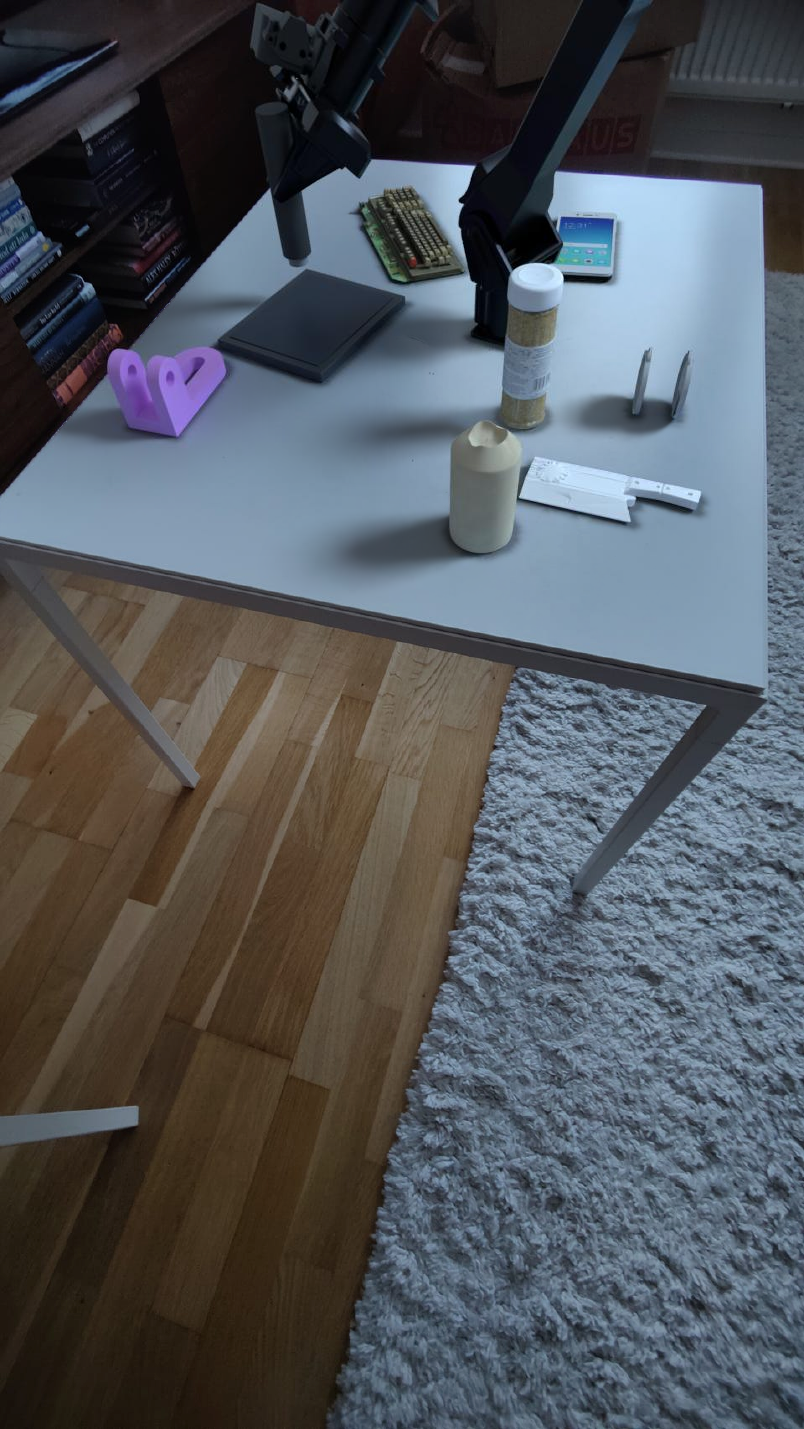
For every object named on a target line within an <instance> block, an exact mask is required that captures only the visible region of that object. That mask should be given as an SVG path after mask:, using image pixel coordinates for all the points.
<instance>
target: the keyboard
mask: <svg viewBox="0 0 804 1429" xmlns="http://www.w3.org/2000/svg"><path fill="white" fill-rule="evenodd" d="M358 204H359V208H358V210H359V212H360V214H362V216H363V219H365V221H364V222H363V223H362V226H363V227H364V230H365V231H366V233H367V234H368V237H369V239H370V241H371V244H372V245H373V246H374V249H375V250H376V252H377V255H378V256H379V258H380V261H381V263H382V264H383V265H384V268H385V270H386V272H387V274H388V275H389V277H390V278H391V279H392V280H395V281H398V282H402V283H405V284H408V283H411V282H416V281H420V280H421V281H422V280H428V279H432V278H438V277H445V276H451V275H456V274H457V275H459V274H464V273H466V269H465V267H464V266H463V264H462V263H461V261H460V260H459V258H458V256H457V255H456V254H455V252H454V250H453V247H452V245H450V244H449V240H448V238H447V237H446V235H445V233H444V232H443V231H442V229H441V227H440V225H439V223H438V222H437V221H436V219H435V218H434V216H433V215H432V214H431V213H430V212H429V211H428V210H427V209H426V207H425V203H424V201H423V200H422V199H421V198H420V195H419V193H418V192H417V190H416V189H415V188H414V187H413V185H405V186H402V188H401V187H396V188H383V194H379V195H373V196H368V200H367V201H366V202H365V201H361V202H360V201H358Z"/></svg>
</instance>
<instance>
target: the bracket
mask: <svg viewBox="0 0 804 1429" xmlns="http://www.w3.org/2000/svg"><path fill="white" fill-rule="evenodd" d="M144 365H145V364H144V363H143V360H142V358H141V356H140V355H139V354H138V353H137V352H136V351H134V350H130V349H123V348H116V349H114V350H112V351H111V353H110V354H109V356H108V360H107V366H106V369H107V376H108V381H109V383H110V385H111V387H112V390H113V392H114V395H115V398H116V399H117V403H118V405H119V407H120V409H121V411H122V414H123V416H124V418H125V421H126V424H127V426H128V428H129V429H133V430H140V431H143V432H144V431H145V432H149V433H155V434H159V435H165V436H171V437H175V438H178V437H179V436H180V434H181V433H182V432H183V431H184V429H186V427H187V426H188V424H189V423H190V422H191V420H192V419H193V418H194V417H195V415H196V414H197V413H198V412H199V410H200V409H201V408H202V407H203V405H204V404H205V402H206V401H207V400H208V398H210V396H211V394H213V392H214V391H215V390H216V388H217V387H218V386H219V384H220V383H221V382H222V381H223V379H224V378H225V376H226V373H227V369H226V365H225V361H224V358H223V355H222V353H221V352H220V351H219V350H218V349H215V348H212V347H207V346H196V347H190V348H188V349H185V350H182V351H181V352H178V353H177V354H176V355H175V356H174V357H169V356H165V355H158V354H156V355H153V356H152V357H150V359H149V360H148V362H147V365H146V368H145V366H144ZM194 372H195V374H194V375H193V373H194ZM192 375H193V376H192ZM191 376H192V378H190V377H191ZM189 378H190V380H189V381H188V379H189ZM187 381H188V383H186V382H187Z"/></svg>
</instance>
